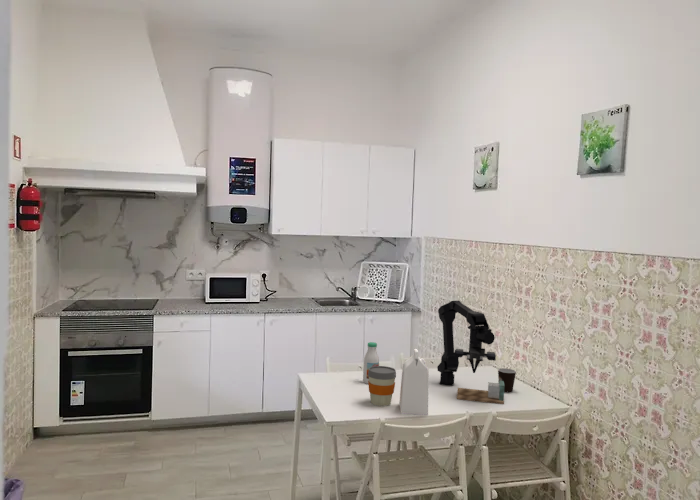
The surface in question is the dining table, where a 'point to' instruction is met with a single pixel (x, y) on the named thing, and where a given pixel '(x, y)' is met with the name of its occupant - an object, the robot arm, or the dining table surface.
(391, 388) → the reusable coffee cup
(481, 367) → the dining table surface
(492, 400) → the rail board
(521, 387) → the dining table surface
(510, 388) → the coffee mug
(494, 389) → the metal slider block
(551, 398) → the dining table surface
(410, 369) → the milk
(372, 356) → the milk bottle
